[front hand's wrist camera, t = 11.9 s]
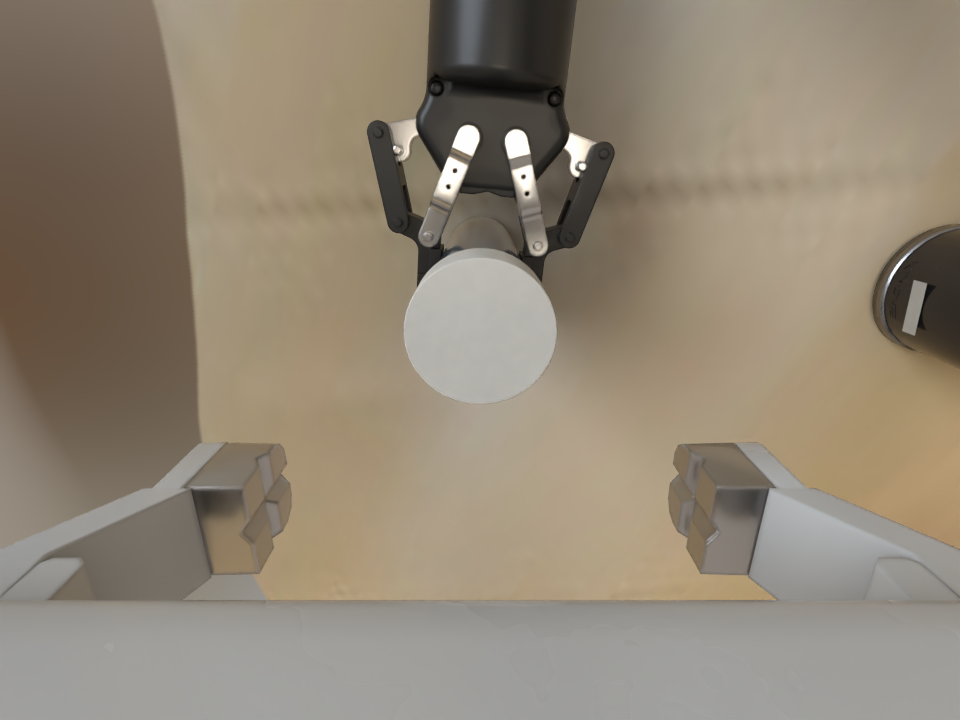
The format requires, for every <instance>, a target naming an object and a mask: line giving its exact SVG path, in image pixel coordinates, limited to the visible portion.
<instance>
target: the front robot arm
mask: <svg viewBox="0 0 960 720" xmlns="http://www.w3.org/2000/svg"><path fill="white" fill-rule="evenodd" d="M286 465H287V461H286V456H285V451H284V448H283V447H282V446H281V445H280V444H267V443H227V442H218V443H201V444H198V445H197V446H196V447H195V448H194V449H193V450H192V451H191V452H190V453H189V454H188V455H187V456H186V457H185V458H184V459H182V460H181V461H180V462H179V463H178V464H177V465H176V466H175V467H174V468H173V469H172V470H171V471H170V472H169V473H168V474H167V475H166V476H165V477H164V478H163V479H162V480H161V481H160V482H159V483H158V484H157V485H155V486H154V487H153V488H144V489H141V490H139V491H137V492H134V493H132V494H130V495H127V496H125V497H122V498H120V499H118V500H115V501H113V502H111V503H108V504H106V505H104V506H101V507H99V508H97V509H94V510H92V511H89V512H87V513H85V514H82V515H80V516H78V517H75V518H73V519H70V520H68V521H66V522H63V523H61V524H59V525H56V526H54V527H52V528H49V529H47V530H44V531H42V532H40V533H37V534H35V535H33V536H30V537H28V538H26V539H23V540H21V541H19V542H16V543H14V544H12V545H9V546H7V547H5V548H2V549H0V720H960V549H958V548H955V547H953V546H951V545H948V544H946V543H943V542H941V541H939V540H936V539H934V538H932V537H929V536H927V535H925V534H922V533H920V532H918V531H915V530H913V529H911V528H908V527H906V526H903V525H901V524H899V523H896V522H894V521H892V520H889V519H887V518H885V517H882V516H880V515H878V514H875V513H873V512H871V511H868V510H866V509H863V508H861V507H859V506H856V505H854V504H852V503H849V502H847V501H845V500H842V499H840V498H838V497H835V496H833V495H831V494H828V493H826V492H823V491H821V490H819V489H816V488H807V487H806V486H805V485H804V484H802V483H801V482H800V481H799V480H798V479H797V478H796V477H795V476H794V475H793V474H792V473H791V472H790V471H789V470H788V469H787V468H786V467H785V466H784V465H783V464H782V463H781V462H780V461H779V460H778V459H777V458H776V457H775V456H774V455H773V454H771V453H770V452H769V451H768V450H767V449H766V448H765V447H764V446H763V445H762V444H759V443H756V442H747V443H706V444H681V445H678V447H677V449H676V451H675V455H674V461H673V465H674V466H675V468H676V469H677V471H678V472H679V474H678V475H677V476H676V478H675V479H674V480H673V481H672V482H671V483H670V487H669V496H668V501H669V512H670V515H671V519H672V522H673V524H674V526H675V528H676V530H677V531H678V532H679V533H681V534H682V535H684V536H685V537H687V538H688V540H687V546H686V548H687V550H688V552H689V554H690V556H691V557H692V559H693V561H694V563H695V565H696V566H697V568H698V570H699V572H700V574H723V575H749V578H750V579H751V580H753V581H754V582H755V583H756V584H758V585H759V586H760V587H762V588H763V589H764V590H765V591H767V592H768V593H769V594H771V595H772V596H773V597H775V598H776V599H777V600H183V599H184V598H186V597H187V596H188V595H190V594H191V593H192V592H193V591H195V590H196V589H197V588H199V587H200V586H201V585H203V584H204V583H205V582H206V581H208V580H209V579H210V578H211V575H236V574H260V572H261V570H262V568H263V566H264V565H265V563H266V561H267V559H268V557H269V556H270V554H271V552H272V550H273V548H274V546H273V540H272V538H273V537H275V536H276V535H278V534H279V533H281V532H282V531H283V530H284V528H285V526H286V524H287V522H288V519H289V515H290V510H291V499H292V494H291V487H290V483H289V482H288V481H287V480H286V479H285V478H284V476H283V475H282V474H281V472H282V471H283V469H284V468H285V466H286Z"/></svg>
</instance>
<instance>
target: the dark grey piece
mask: <svg viewBox="0 0 960 720" xmlns="http://www.w3.org/2000/svg"><path fill="white" fill-rule="evenodd" d="M473 248H488V249H495V250H499V251H503V252H505V253H508V254H510V255H512V256H514V257H516V258H518V259H519V260H520V258H519V255H518V253H517V251H516V248H515V246H514V244H513V241H512V239H511V237H510V235H509V233H508V231H507V230H506V228H505V227H504V226H503V225H502V224H500V223H499V222H498V221H496V220H494V219H492V218H488V217H473V218H469V219H467V220H465V221H463V222H462V223H461V224H459V225H458V226H457V227H456V228H455V230H454V231H453V233H452V235H451V237H450V239H449V241H448V244H447V246H446V248H445V251H444V253H443V255H442V258H441V260H442V259H443V258H445V257H447V256H449V255H451V254H453V253H456V252H458V251H462V250H466V249H473Z"/></svg>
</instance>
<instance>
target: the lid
mask: <svg viewBox="0 0 960 720" xmlns="http://www.w3.org/2000/svg"><path fill="white" fill-rule="evenodd" d="M404 341H405V346H406V350H407V353H408V356H409V359H410V361H411V363H412V365H413V367H414V368H415V370H416V371H417V373H418V374H419V375H420V376H421V378H422V379H423V380H424V381H425V382H426V383H427V384H428V385H429V386H431V387H432V388H433V389H435V390H436V391H438V392H439V393H441V394H443V395H445V396H446V397H448V398H451V399H454V400H457V401H460V402H464V403H471V404H490V403H496V402H501V401H504V400H507V399H510V398H512V397H514V396H516V395H518V394H520V393H522V392H523V391H525V390H526V389H528V388H529V387H530V386H531V385H533V384H534V383H535V382H536V381H537V380H538V379H539V378H540V376H541V375H542V374H543V373H544V371H545V370H546V368H547V367H548V365H549V363H550V361H551V359H552V356H553V353H554V350H555V346H556V341H557V320H556V316H555V311H554V308H553V306H552V303H551V301H550V299H549V297H548V295H547V293H546V291H545V289H544V287H543V286H542V284H541V282H540V280H539V279H538V277H537V276H536V274H535V273H534V272H533V271H532V270H531V269H530V268H529V267H528V266H527V265H526V264H525V263H523V262H522V261H521V260H519V259H518V258H516V257H514V256H512V255H510V254H508V253H505V252H503V251H499V250H495V249H488V248H473V249H466V250H462V251H458V252H456V253H453V254H451V255H449V256H447V257H445V258H443V259H442V260H440V261H439V262H438V263H436V264H435V265H434V266H433V267H432V268H431V269H430V270H429V271H428V272H427V273H426V274H425V276H424V277H423V279H422V280H421V282H420V284H419V285H418V287H417V289H416V291H415V293H414V295H413V297H412V299H411V301H410V303H409V306H408V308H407V311H406V315H405V320H404Z"/></svg>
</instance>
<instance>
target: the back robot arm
mask: <svg viewBox="0 0 960 720" xmlns="http://www.w3.org/2000/svg"><path fill="white" fill-rule="evenodd" d="M576 4H577V0H430V18H429V42H428V66H427V89H426V95H425V98H424V101H423V103H422V105H421V107H420V109H419V110H418V112H417V115H416V118H412V119H407V120H401V121H396V122H391V123H384V122H382V121H379V120H376V121H373V122H371V123H370V124H369V126H368V129H367V135H368V139H369V144H370V148H371V152H372V157H373V161H374V166H375V170H376V175H377V179H378V183H379V188H380V192H381V197H382V201H383V206H384V210H385V214H386V219H387V223H388V226H389V228H390V229H391V230H392V231H393V232H395V233H401V234H403V235H405V236H407V237H409V238H411V239H413V240H414V241H415V242H416V244H417V246H418V251H419V252H418V276H417V287H418V285H419V284H420V282H421V280H422V279H423V277H424V276H425V274H426V273H427V272H428V271H429V270H430V269H431V268H432V267H433V266H434V265H435V264H436V263H438V262H439V261H440V260H441V258H442V255H443V253H444V244H441V235H442V233H443V230H444V228H445V225H446V223H447V221H448V218H449V216H450V213H451V211H452V209H453V206H454V204H455V202H456V199H457V197H458V194H459V192H460V193H467V194H476V193H482V192H491V193H493V194H496V195H498V196H501V197H512V198H514V201H515V205H516V209H517V213H518V217H519V221H520V225H521V230H522V234H523V239H524V245H523V251H519V258H520V260H521V261H522V262H523V263H525V264H526V265H527V266H528V267H529V268H530V269H531V270H532V271H533V272H534V273H535V274H536V276H537V277H538V279H539V280H540V282H542V274H543V266H544V260H545V258H546V256H547V255H548V254H549V253H550V252H552V251H554V250H558V249H562V248H573V247H575V246H576V245H577V244H578V243H579V241H580V238H581V236H582V234H583V231H584V229H585V226H586V224H587V221H588V219H589V216H590V214H591V212H592V209H593V207H594V204H595V202H596V199H597V197H598V194H599V192H600V190H601V187H602V185H603V182H604V180H605V177H606V175H607V172H608V170H609V168H610V165H611V163H612V160H613V158H614V153H615V152H614V148H613V146H612V145H611V144H610V143H608V142H594V141H592V140H589V139H587V138H584V137H581V136H579V135H576V134H574V133H571V132H570V130H569V125H568V122H567V119H566V116H565V111H564V98H565V90H566V82H567V74H568V67H569V59H570V51H571V43H572V35H573V27H574V19H575V12H576ZM418 137H420V138H421V140H422V141H423V143H424V145H425V146H426V148H427V150H428V151H429V153H430V155H431V156H432V158H433V160H434V162H435V163H436V165H437V167H438V168H439V170H440V172H441V173H442V174H441V177H440V179H439V182H438V184H437V187H436V189H435V192H434V194H433V197H432V199H431V202H430V206H429V208H428V211H427V213H426V216H425V218H423V217H421V216H419V215H416V214H414V213H413V212H412V208H411V203H410V198H409V193H408V188H407V183H406V179H405V174H404V169H403V164H402V162H405V161H407V160H408V159H409V158H410V157H411V154H412V143H413V141H414V140H415V139H416V138H418ZM562 150H564V151H565V152H566V153H567V155H568V165H567V169H568V172H569V174H570V175H571V176H573V177H575V178H574V181H573V183H572V186H571V188H570V191H569V193H568V196H567V199H566V201H565V204H564V206H563V209H562V211H561V214H560V217H559V219H558V222H557V224H556V225H555V226H552V227H548V228H545V227H544V222H543V217H542V209H541V204H540V199H539V194H538V189H537V184H536V181H537V179H538V178H539V177H540V176H541V175H542V173H543V172H544V171H545V170H546V169H547V168H548V166H549V165H550V164H551V163H552V162H553V160H554V159H555V158H556V157H557V156H558V155H559V153H560V152H561V151H562ZM450 186H451V187H450ZM873 314H874V318H875V321H876V323H877V325H878V327H879V329H880V330H881V332H882V333H883V334H884V335H885V336H886V337H887V338H888V339H890V340H891V341H893V342H895V343H897V344H899V345H901V346H903V347H906V348H908V349H911V350H914V351H919V352H921V353H924V354H926V355H928V356H931V357H933V358H936V359H938V360H940V361H942V362H945V363H947V364H949V365H952V366H954V367H957V368H959V369H960V224H956V225H947V226H942V227H938V228H935V229H932V230H929V231H927V232H925V233H923V234H921V235H919V236H917V237H916V238H914V239H913V240H911V241H910V242H908V243H907V244H906V245H905V246H903V247H902V248H901V249H900V250H899V251H898V252H897V253H896V254H895V255H894V256H893V257H892V258H891V260H890V261H889V262H888V264H887V265H886V266H885V268H884V270H883V271H882V273H881V275H880V277H879V279H878V282H877V284H876V287H875V291H874V296H873Z"/></svg>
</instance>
